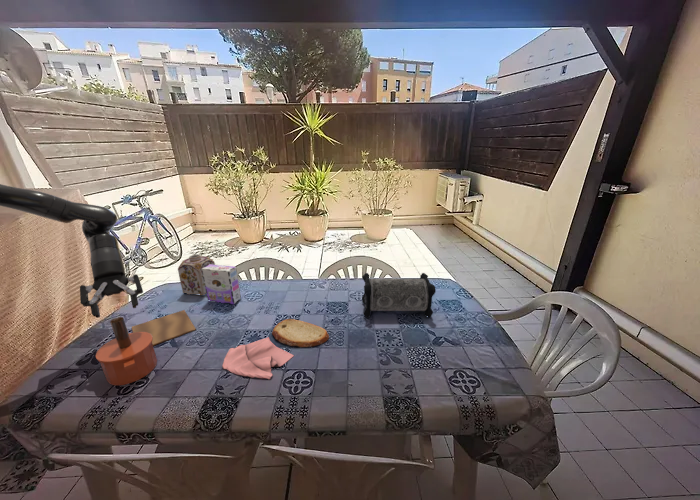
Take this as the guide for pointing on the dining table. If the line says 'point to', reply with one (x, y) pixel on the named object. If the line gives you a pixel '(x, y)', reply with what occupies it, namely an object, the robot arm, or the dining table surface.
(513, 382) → the dining table surface
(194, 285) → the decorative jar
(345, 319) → the dining table surface
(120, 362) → the pot
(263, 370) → the cloth
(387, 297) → the speaker
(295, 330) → the slice of bread
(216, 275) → the candy box
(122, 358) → the lid
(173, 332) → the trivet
